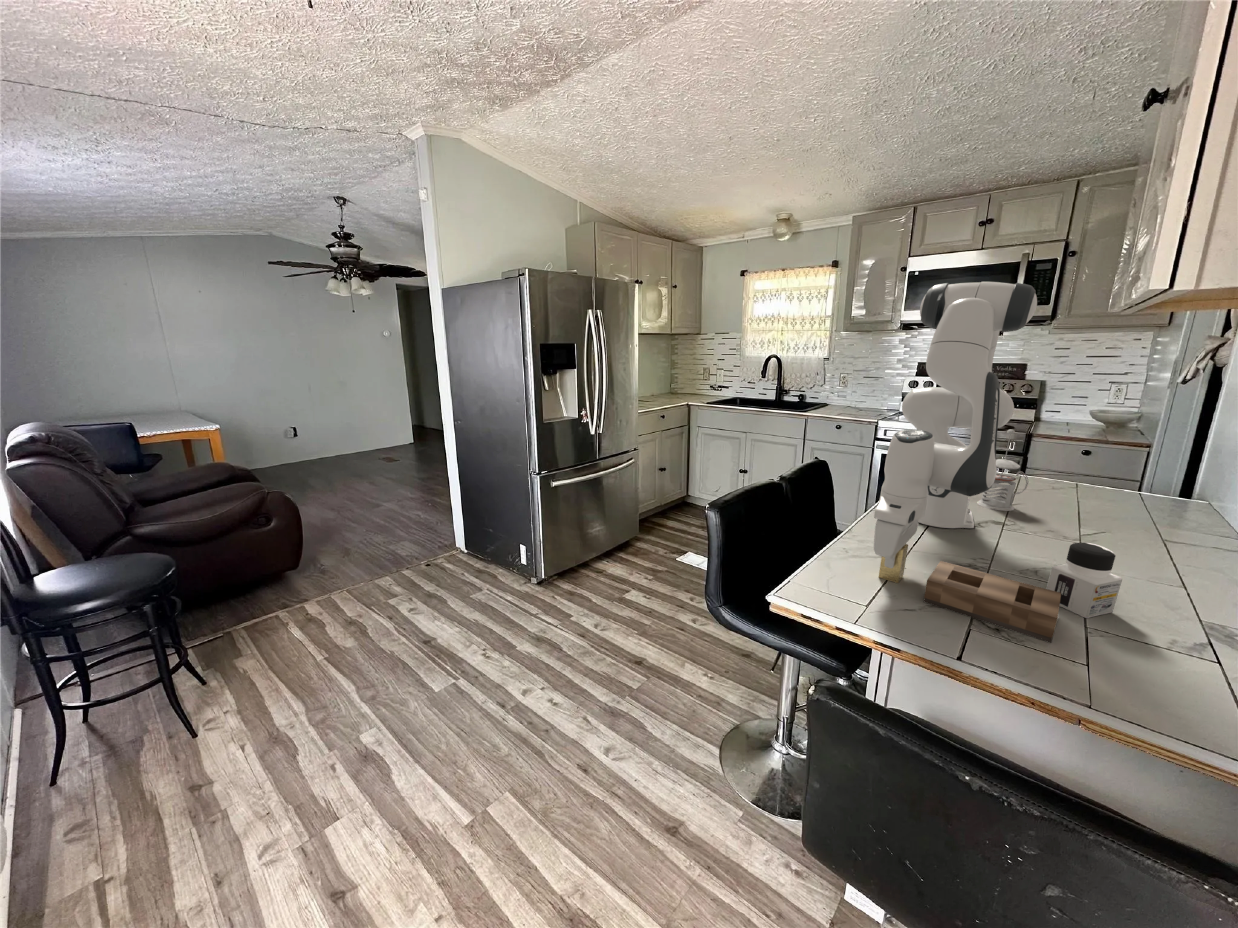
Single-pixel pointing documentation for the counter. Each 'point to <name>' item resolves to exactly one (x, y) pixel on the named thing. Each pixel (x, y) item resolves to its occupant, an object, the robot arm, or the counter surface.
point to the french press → (1002, 486)
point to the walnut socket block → (994, 600)
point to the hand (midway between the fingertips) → (893, 562)
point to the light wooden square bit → (898, 570)
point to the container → (1086, 580)
